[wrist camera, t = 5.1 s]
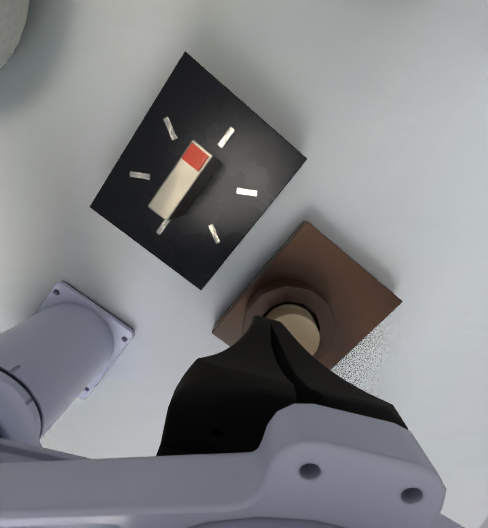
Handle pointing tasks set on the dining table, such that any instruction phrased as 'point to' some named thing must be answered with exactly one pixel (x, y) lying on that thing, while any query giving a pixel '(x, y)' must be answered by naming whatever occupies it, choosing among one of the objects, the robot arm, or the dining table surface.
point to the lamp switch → (313, 294)
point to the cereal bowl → (11, 26)
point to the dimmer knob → (184, 182)
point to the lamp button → (298, 325)
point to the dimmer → (219, 185)
